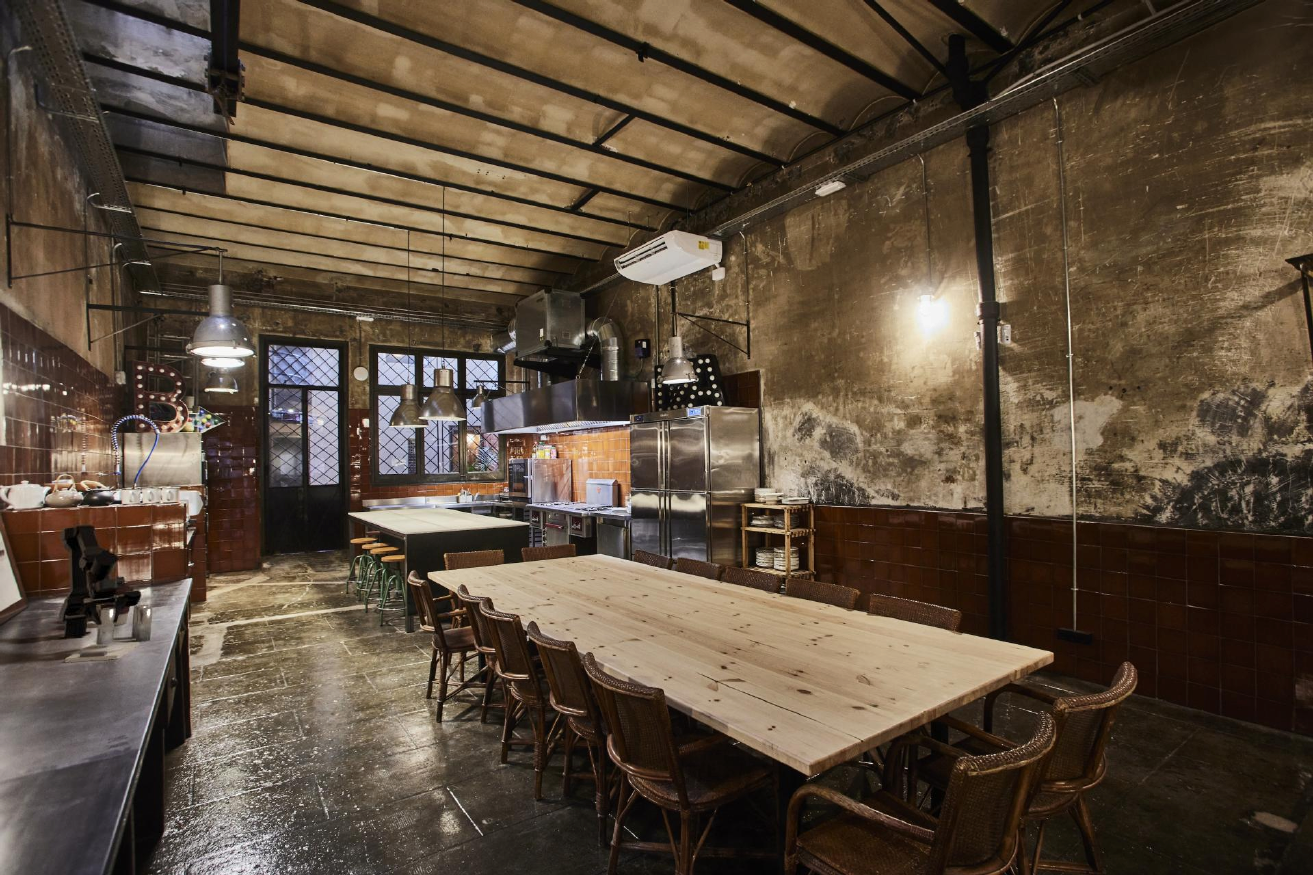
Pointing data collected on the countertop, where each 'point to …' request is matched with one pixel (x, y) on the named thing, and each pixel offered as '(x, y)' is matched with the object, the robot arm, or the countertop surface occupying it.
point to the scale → (102, 652)
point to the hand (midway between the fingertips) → (107, 623)
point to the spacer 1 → (106, 626)
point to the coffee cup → (123, 612)
